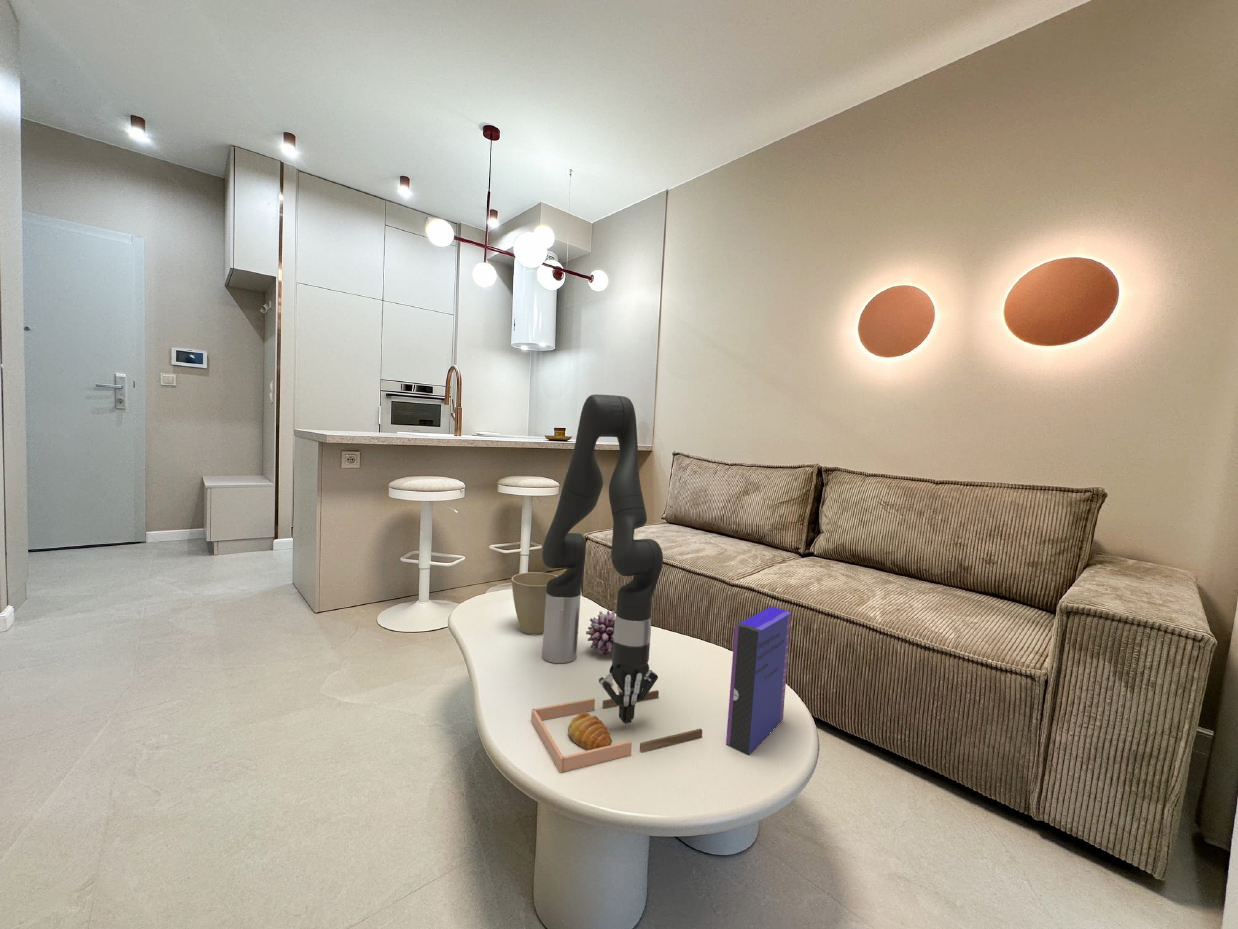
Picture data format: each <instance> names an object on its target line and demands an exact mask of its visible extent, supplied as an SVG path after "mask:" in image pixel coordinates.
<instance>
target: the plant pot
mask: <svg viewBox="0 0 1238 929" xmlns="http://www.w3.org/2000/svg"><path fill="white" fill-rule="evenodd" d="M558 576H559V575H556V574H553V573H548V572H540V571H539V572H537V571H536V572H535V571H532V572H529V571H528V572H522V573H518V574H515V575H513V576H511V588H512V589H511V590H512V597H513V602H514V603H513V604H514V608H515V613H516V617H517V621H518V624H519V627H520V630H521V632H522V633H523V632H524V634H527V635H531V634H536V635H541V634H543V633H544V618H545V602H546V587H547V583H548V581H549V580H551V579H553V578H555V577H558Z"/></svg>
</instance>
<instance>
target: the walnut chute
mask: <svg viewBox="0 0 1238 929" xmlns="http://www.w3.org/2000/svg"><path fill="white" fill-rule="evenodd" d="M659 693H660V691H659V690H658V689H656V690H650V691H649V692H648V694H647V695H646V696H645V698H644V699H643V700H642V701H640V700H639V701H637V702H636V703H638V702H645V701H649V700H654V699H659V696H660V695H659ZM617 706H618V707H619V705H617V704H616V703H615V702H614V701H613V700H612V699H611V698H608V699H604V700H602V709H608V708H612V707H617ZM701 738H703V729H702V728H701V727H700V728H696V729H694V730H693V729H692V730H688V731H685V732H679V733H675V734H672V735H668V736H664V737H659V738H655V739H652V740H651V739H650V740H647V741H643V742H639V751H640V753H644V752H645V753H646V752H649V751H653V750H656V749H662V748H666V747H669V746H673V745H678V744H681V743H684V742H689V741H693V740H697V739H701Z"/></svg>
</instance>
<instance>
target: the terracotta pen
mask: <svg viewBox="0 0 1238 929" xmlns="http://www.w3.org/2000/svg"><path fill="white" fill-rule="evenodd" d="M595 703H596V699H595V697H593V698H587V699H581V700H575V701H570V702H565V703H558V704H555V705H554V704H553V705H548V706H544V707H543V706H542V707H537V708H532V709H531V712H530V713H531V715H530V721H531V723H532V725H533V727H534V728H535V729H534V730H536V733H537V734H538V736H539V738H540V740H541V741H542V743H543V744H544V747H545V748H546V750H547V752H548V754H549V755H550V757H551V759H552V761H553V762H554V765H555V766H556V768H557V769H558V771H559V773H560V774H562V773H565V772H569V771H572V770H573V771H574V770H577V769H581V768H584V767H589V766H593V765H596V764H601V763H605V762H609V761H612V760H613V761H614V760H617V759H620V758H625V757H630V756H631V755H632V748H633V747H632V746H633V745H632V744H633V743H632V741H631V740H627V741H623V742H618V743H615V744H611V745H609V746H605V747H601V748H597V749H592V750H585V751H580V752H576V753H571V754H568V755H567V754H566V755H563V754H562V752H561V750H560V749H559V746H558V745H557V743H556V742H555V740H554V739H553V737H552V734H550V732H549V730H548V729H547V727H546V726H545V723H544V722H543V721H546V720H551V719H556V718H561V717H567V716H572V715H578V714H580V713H583V712H584V713H588V712H594V711H595V706H596V704H595Z"/></svg>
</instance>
